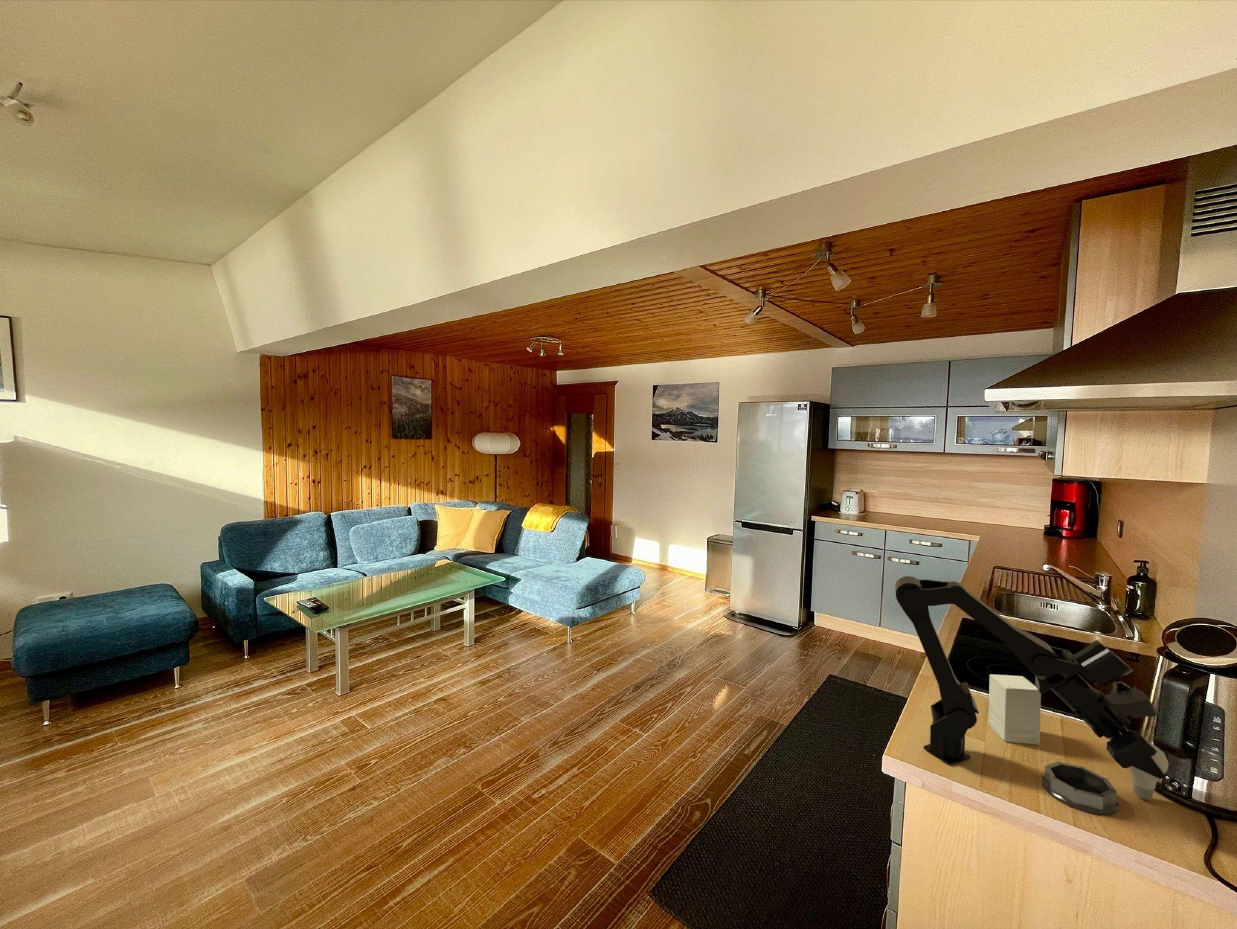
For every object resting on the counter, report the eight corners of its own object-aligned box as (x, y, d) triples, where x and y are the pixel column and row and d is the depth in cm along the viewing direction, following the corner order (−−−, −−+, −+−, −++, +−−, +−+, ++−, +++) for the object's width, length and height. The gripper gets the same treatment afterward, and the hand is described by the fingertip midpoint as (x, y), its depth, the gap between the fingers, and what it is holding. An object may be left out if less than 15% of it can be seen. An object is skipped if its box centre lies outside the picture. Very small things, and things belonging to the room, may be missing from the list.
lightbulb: (1120, 798, 98) (1122, 743, 97) (1120, 783, 102) (1123, 729, 102) (1166, 815, 94) (1169, 757, 93) (1165, 798, 98) (1168, 742, 97)
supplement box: (1041, 745, 115) (1042, 690, 114) (1003, 742, 116) (1005, 688, 116) (1022, 727, 122) (1023, 675, 121) (987, 724, 124) (988, 673, 123)
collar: (1094, 821, 92) (1095, 804, 92) (1028, 783, 103) (1029, 767, 103) (1132, 806, 96) (1133, 790, 96) (1064, 770, 106) (1065, 755, 106)
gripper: (1143, 698, 90) (1229, 776, 86) (1102, 656, 107) (1172, 720, 102) (1083, 730, 94) (1162, 806, 90) (1052, 685, 111) (1118, 748, 106)
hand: (1154, 767), depth 97 cm, fingers closed on lightbulb, 6 cm apart
